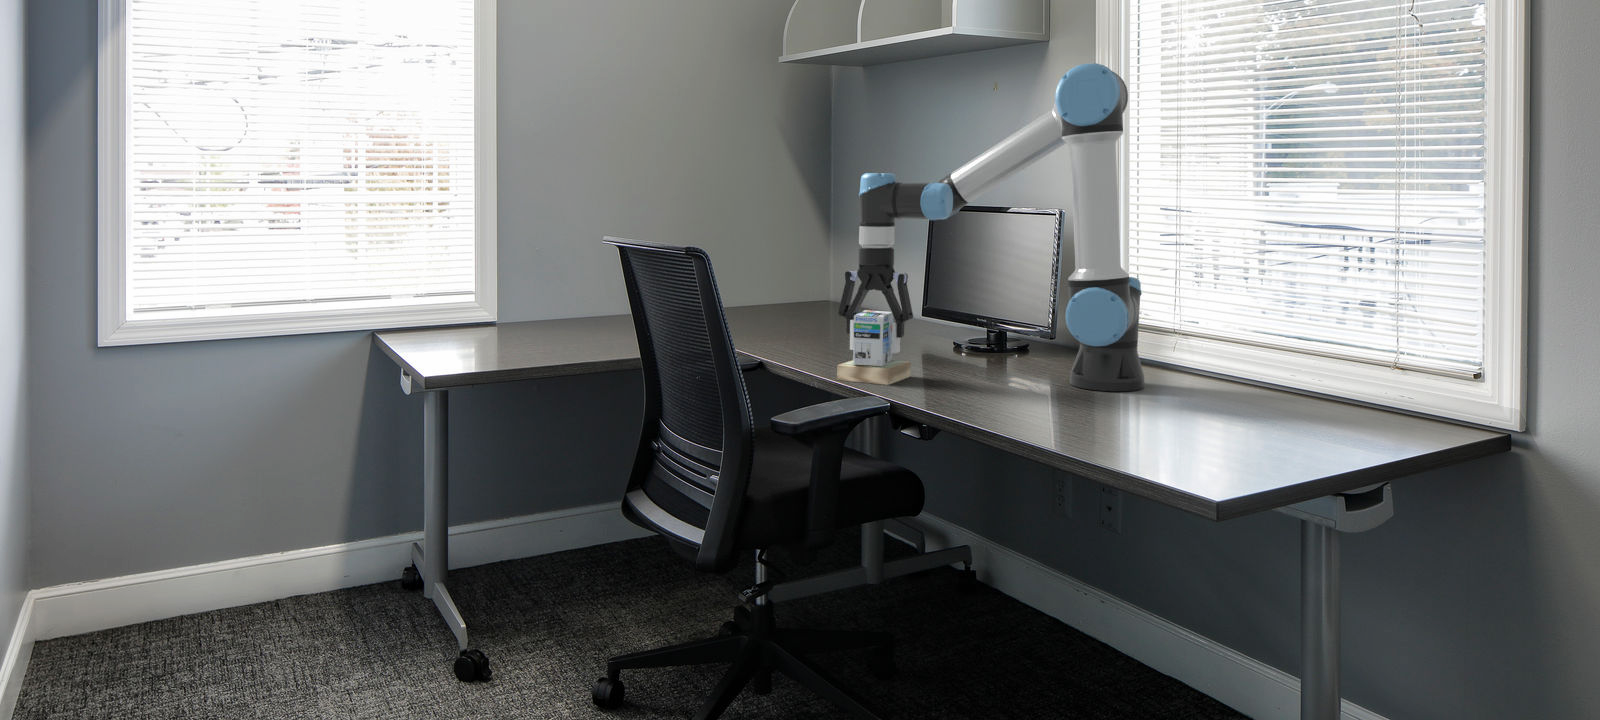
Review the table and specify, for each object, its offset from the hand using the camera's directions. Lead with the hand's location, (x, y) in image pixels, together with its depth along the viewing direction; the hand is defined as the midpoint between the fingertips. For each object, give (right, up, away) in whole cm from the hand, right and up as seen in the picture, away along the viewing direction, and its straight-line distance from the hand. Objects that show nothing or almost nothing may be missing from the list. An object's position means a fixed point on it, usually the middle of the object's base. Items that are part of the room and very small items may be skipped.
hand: (874, 350), depth 242 cm
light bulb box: (0, -3, +1) cm, 3 cm away
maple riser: (0, -6, +1) cm, 6 cm away
